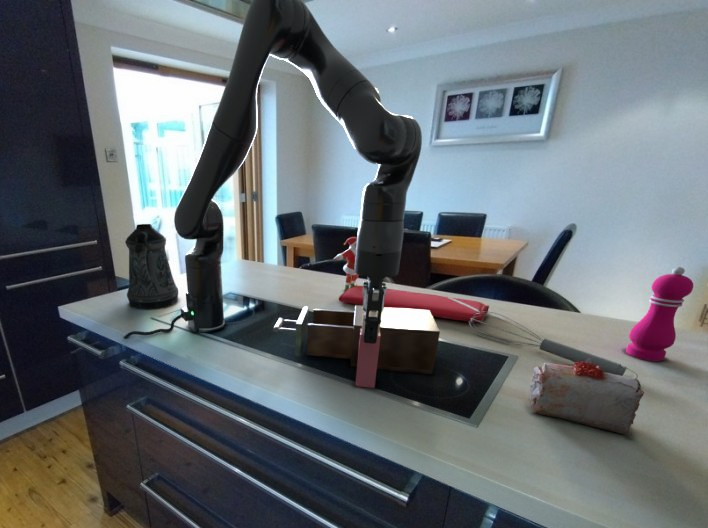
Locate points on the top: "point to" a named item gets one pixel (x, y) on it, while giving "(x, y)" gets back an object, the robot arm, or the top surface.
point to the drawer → (322, 332)
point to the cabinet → (402, 340)
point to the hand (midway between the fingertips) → (369, 333)
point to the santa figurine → (349, 263)
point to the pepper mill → (660, 317)
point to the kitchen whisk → (563, 350)
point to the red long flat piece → (424, 303)
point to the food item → (586, 395)
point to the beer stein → (149, 270)
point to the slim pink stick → (367, 358)
